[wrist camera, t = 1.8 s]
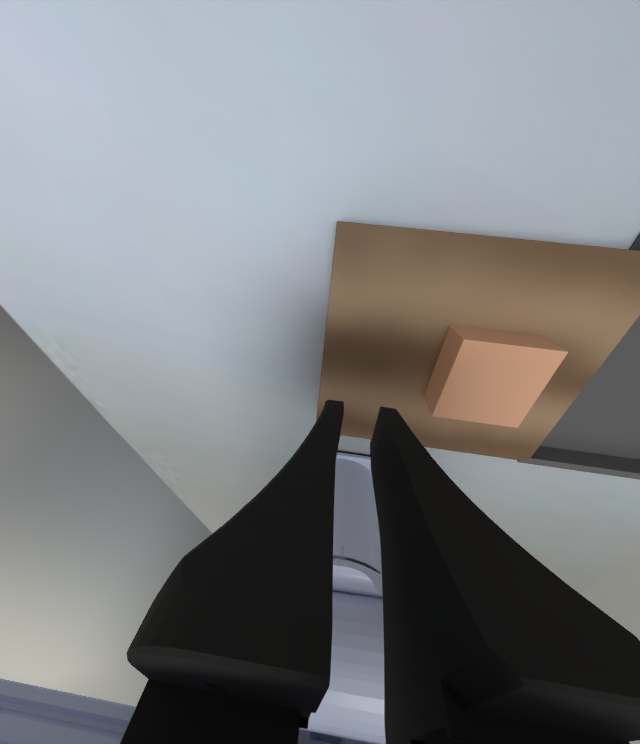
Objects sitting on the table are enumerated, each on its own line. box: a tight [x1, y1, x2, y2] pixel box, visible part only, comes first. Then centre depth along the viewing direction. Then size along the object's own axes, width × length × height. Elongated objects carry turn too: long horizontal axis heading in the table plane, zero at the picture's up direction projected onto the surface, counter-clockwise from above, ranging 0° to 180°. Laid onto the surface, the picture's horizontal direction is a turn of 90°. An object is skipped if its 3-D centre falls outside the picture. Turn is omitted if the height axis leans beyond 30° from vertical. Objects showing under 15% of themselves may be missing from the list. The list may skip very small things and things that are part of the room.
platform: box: [316, 221, 640, 461], centre depth 16 cm, size 14×16×3 cm
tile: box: [424, 326, 568, 428], centre depth 14 cm, size 5×5×2 cm
